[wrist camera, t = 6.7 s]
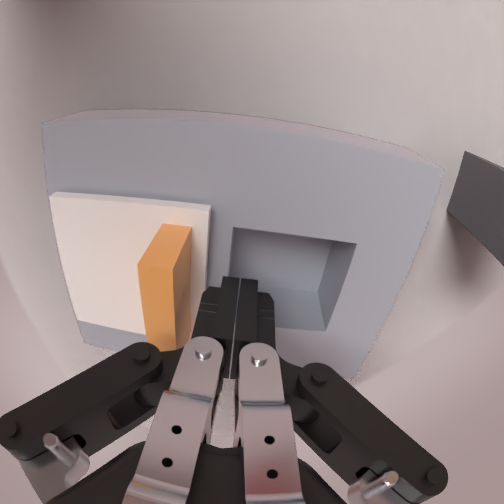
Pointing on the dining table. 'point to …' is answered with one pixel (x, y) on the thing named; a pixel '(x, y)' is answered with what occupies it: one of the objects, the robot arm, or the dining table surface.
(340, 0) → the dining table surface
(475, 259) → the dining table surface
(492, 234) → the plug
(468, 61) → the dining table surface
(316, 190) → the socket block
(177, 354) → the robot arm
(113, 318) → the shutter
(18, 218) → the dining table surface
